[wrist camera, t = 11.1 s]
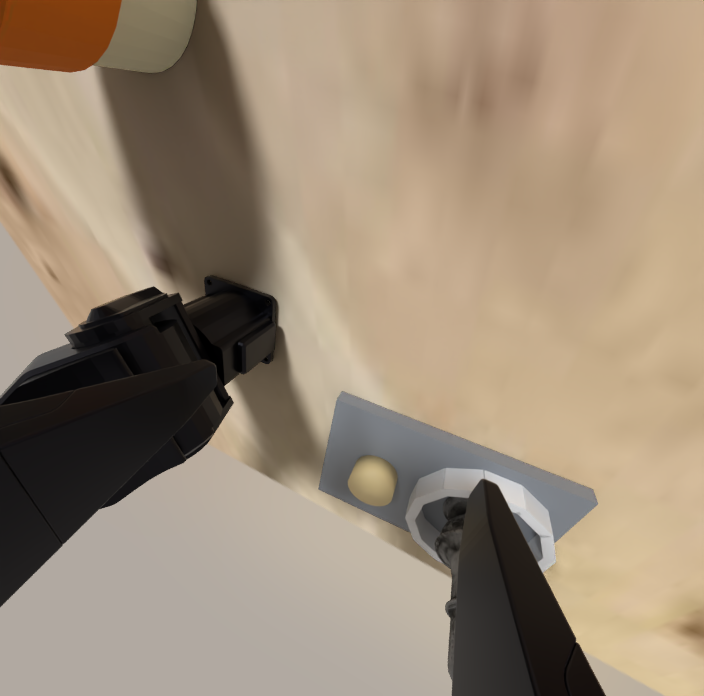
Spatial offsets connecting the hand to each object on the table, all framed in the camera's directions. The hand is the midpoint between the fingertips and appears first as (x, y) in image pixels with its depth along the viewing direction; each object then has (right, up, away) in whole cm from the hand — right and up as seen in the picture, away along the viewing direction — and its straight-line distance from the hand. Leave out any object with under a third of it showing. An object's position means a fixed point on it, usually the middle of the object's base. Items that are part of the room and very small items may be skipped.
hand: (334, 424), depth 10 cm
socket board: (+8, -10, +18) cm, 22 cm away
